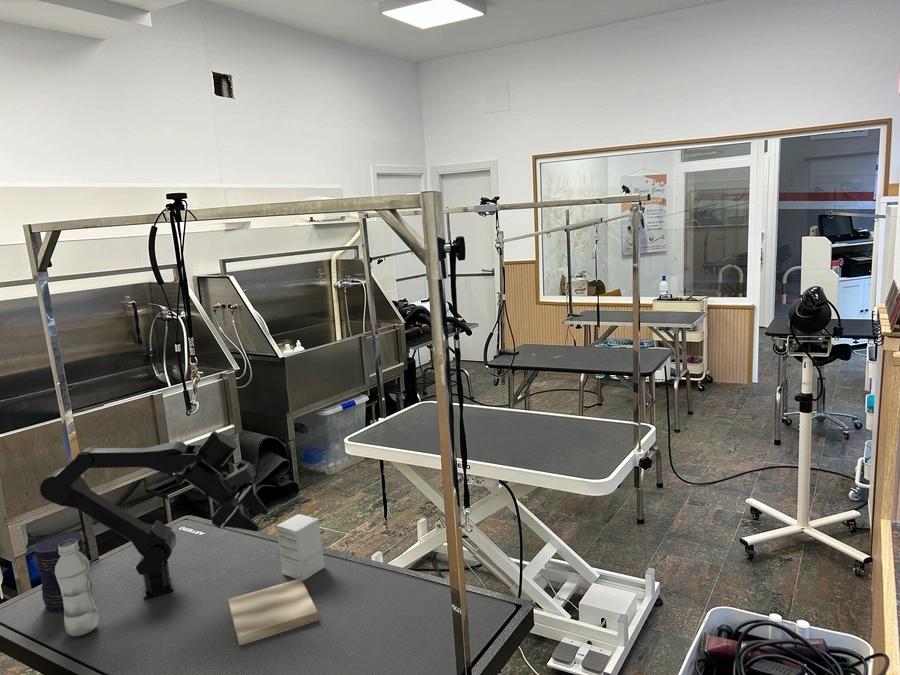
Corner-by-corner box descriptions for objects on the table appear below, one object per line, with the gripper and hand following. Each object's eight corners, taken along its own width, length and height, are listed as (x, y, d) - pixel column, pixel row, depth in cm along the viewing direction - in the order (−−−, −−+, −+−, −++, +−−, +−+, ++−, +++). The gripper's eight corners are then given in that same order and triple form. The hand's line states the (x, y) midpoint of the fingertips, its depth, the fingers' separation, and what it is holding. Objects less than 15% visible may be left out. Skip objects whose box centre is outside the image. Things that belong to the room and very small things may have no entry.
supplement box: (304, 560, 163) (298, 512, 162) (325, 567, 159) (319, 518, 157) (281, 574, 158) (275, 524, 156) (302, 582, 153) (296, 531, 151)
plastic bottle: (64, 644, 136) (47, 553, 133) (68, 627, 142) (52, 540, 139) (99, 634, 138) (83, 545, 135) (101, 618, 144) (86, 533, 141)
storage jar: (45, 599, 155) (34, 540, 152) (92, 586, 160) (82, 528, 157) (44, 619, 146) (32, 556, 144) (94, 604, 151) (83, 543, 149)
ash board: (229, 607, 145) (228, 599, 144) (301, 586, 151) (300, 578, 151) (239, 645, 130) (238, 636, 130) (318, 620, 137) (317, 611, 137)
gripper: (219, 469, 144) (276, 512, 146) (241, 443, 162) (291, 481, 165) (187, 507, 145) (244, 549, 147) (213, 476, 163) (263, 514, 165)
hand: (262, 521), depth 156 cm, fingers open, 9 cm apart
